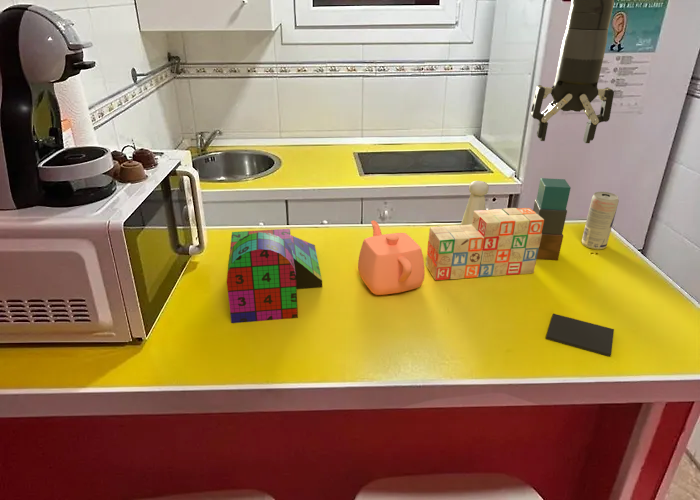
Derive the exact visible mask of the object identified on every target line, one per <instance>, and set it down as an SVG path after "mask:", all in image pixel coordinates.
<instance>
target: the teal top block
mask: <svg viewBox="0 0 700 500" xmlns="http://www.w3.org/2000/svg"><path fill="white" fill-rule="evenodd" d="M571 189H572V187H571V186H570V184H569V183H568V182H567V180H566V178H565V179H564V178H546V177H541V178H539V184H538V190H537V194H536V200H537V202H538V204H539V206H540V208H541V209H552V210H567V207H568V203H569V197H570V192H571Z"/></svg>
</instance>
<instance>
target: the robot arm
mask: <svg viewBox="0 0 700 500" xmlns="http://www.w3.org/2000/svg"><path fill="white" fill-rule="evenodd" d="M614 3H615V0H570V8H569V12H568V16H567V17H568V18H567V23H566V28H565V32H564V34H563V39H562V42H561V47H560V49H559V58H558V63H557V67H556V74H555V80H554V83H553V85H552V86H550V87H548V86H543V85H541V84H538V85H537V86H536V87H535V91H534V95H533V101H532V104H531V108H530V116H531V117H532V118H533V119H535V120H537V121H538V124H537V130H536V137H537V138H538V139H539V141H540V142H545V141H546V138H547V131H548V126H549V120H550V119H551V118H552V117H553V116H554V115H556V114H557V113H558V112H559V111H560V110H561V111H562V112H570V111H573V112H578V113H579V112H581V111H583V112H584V113H585V115H586V117H587V119H588V121H587V122H586V125H585V129H584V134H583V139H582V141H583V142H584V144H590V143H591V141H593V140H594V139H595V135H596V130H597V126H598V125H599V124H600V123H603V122H605V123H607V122H609V121H610V119H611V112H612V107H613V103H614V95H615V91H614V90H613V88H610V87H605V88H598V83H599V79H600V75H601V71H602V66H603V62H604V58H605V57H604V56H605V53H606V49H607V48H606V47H607V43H608V35H609V34H608V33H609V29H610V28H609V27H610V24H611V19H612V16H613V15H612V14H613V10H614ZM549 95H551V97H552V99H553V100H551V102H550V103H549V104H548V105H547V106H546V108H545V109H544V110H543V111H542V112H541V109H542V106H543V101H544V99H547V97H548V96H549ZM597 97H598V98H599V99H598V100H600V101H601V103H600V110H599V113H598V114H596V111H595V109H594V107H593V106H592V104H591V103H592V102H593V101H594V100H595V99H596V98H597Z"/></svg>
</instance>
